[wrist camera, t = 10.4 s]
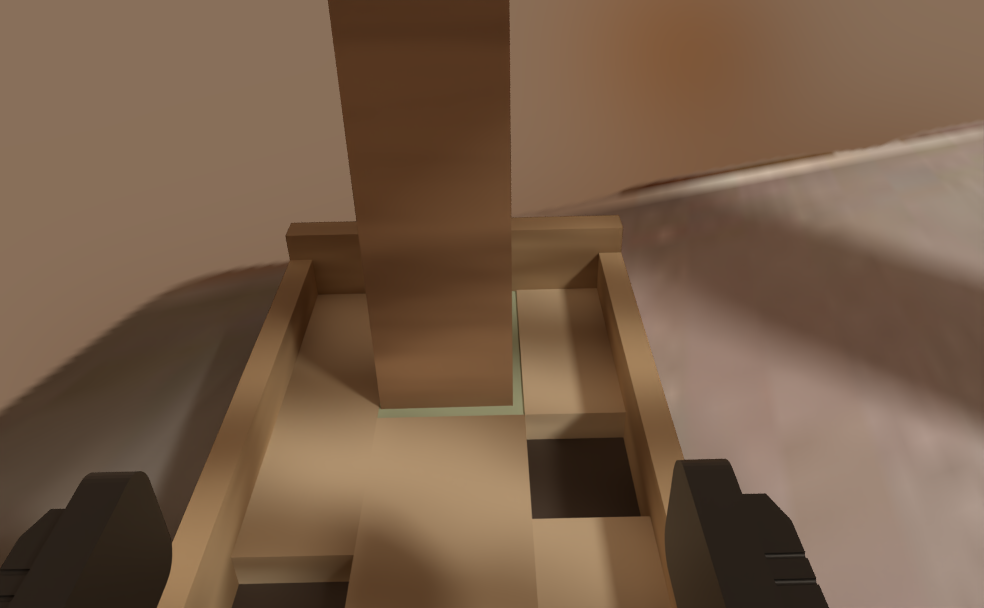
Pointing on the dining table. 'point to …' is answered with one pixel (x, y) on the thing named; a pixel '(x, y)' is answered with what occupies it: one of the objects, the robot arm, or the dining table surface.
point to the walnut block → (431, 193)
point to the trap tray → (440, 451)
